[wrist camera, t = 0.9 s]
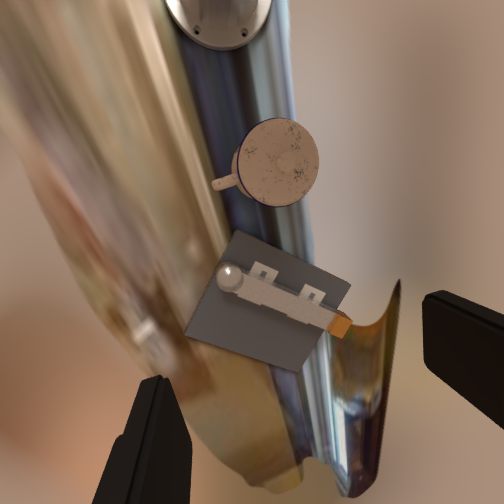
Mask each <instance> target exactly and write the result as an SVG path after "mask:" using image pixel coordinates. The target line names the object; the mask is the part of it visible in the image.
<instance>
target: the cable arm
mask: <svg viewBox="0 0 504 504" xmlns="http://www.w3.org/2000/svg"><path fill="white" fill-rule="evenodd" d="M216 279H217V284H218V286H219V288H220V289H221V290H223V291H225V292H234V293H236V294H239V295H241V296H243V297H246V298H248V299H251V300H253V301H256V302H258V303H261V304H263V305H266V306H268V307H271V308H273V309H276V310H278V311H280V312H283V313H285V314H288V315H290V316H293V317H295V318H298V319H300V320H303V321H305V322H308V323H310V324H313V325H315V326H317V327H320V328H322V329H325V330H327V331H328V332H329V333H330V334H332V335H334V336H337V337H339V338H343V336H344V335H345V333H346V331H347V330H348V328H349V327H350V325H351V323H352V322H353V321H352V320H351V319H350V318H349V317H348V316H347V315H346V314H345V313H344V312H341V311H339V310H337V309H335V308H332V307H330V306H328V305H326V304H323V303H321V302H319V301H317V300H314V299H312V298H310V297H307V296H305V295H303V294H301V293H298V292H296V291H294V290H292V289H289V288H287V287H285V286H282V285H280V284H278V283H276V282H273V281H271V280H269V279H267V278H264V277H262V276H260V275H257V274H255V273H253V272H251V271H248V270H246V269H244V268H242V267H240V266H239V265H238V264H237V263H235V262H233V261H225V262H223V263H221V264H220V265H219V266H218V267H217V270H216Z"/></svg>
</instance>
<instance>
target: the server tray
mask: <svg viewBox="0 0 504 504" xmlns="http://www.w3.org/2000/svg"><path fill="white" fill-rule="evenodd" d="M225 261H233V262H235V263H237V264H238V265H239V266H240V267H242V268H244V269H246V270H248V271H251V272H253V273H255V274H257V275H260V276H262V277H264V278H267V279H269V280H271V281H273V282H276V283H278V284H280V285H282V286H285V287H287V288H289V289H292V290H294V291H296V292H298V293H301V294H303V295H305V296H307V297H310V298H312V299H314V300H317V301H319V302H321V303H323V304H326V305H328V306H330V307H332V308H335V309H337V308H338V306H339V304H340V303H341V301H342V300H343V298H344V296H345V295H346V293H347V292H348V290H349V288H350V287H351V284H349V283H348V282H346V281H344V280H342V279H340V278H338V277H336V276H334V275H332V274H330V273H328V272H326V271H324V270H322V269H320V268H318V267H316V266H314V265H311V264H309V263H307V262H305V261H303V260H301V259H299V258H297V257H295V256H293V255H291V254H289V253H287V252H285V251H283V250H281V249H279V248H277V247H274V246H272V245H270V244H268V243H266V242H264V241H262V240H260V239H258V238H256V237H254V236H252V235H250V234H248V233H246V232H244V231H242V230H240V229H237V228H236V229H235V231H234V233H233V235H232V237H231V239H230V241H229V243H228V245H227V247H226V249H225V251H224V253H223V255H222V257H221V259H220V261H219V263H218V265H217V267H218V266H219V265H220V264H221V263H223V262H225ZM217 267H216V269H215V271H214V273H213V275H212V277H211V279H210V281H209V283H208V285H207V287H206V289H205V291H204V293H203V295H202V297H201V299H200V301H199V303H198V305H197V307H196V309H195V311H194V313H193V315H192V317H191V319H190V321H189V323H188V325H187V327H186V329H185V334H184V335H185V336H188V337H191V338H194V339H197V340H200V341H203V342H206V343H209V344H212V345H215V346H218V347H221V348H224V349H227V350H230V351H233V352H236V353H239V354H242V355H245V356H248V357H251V358H254V359H257V360H260V361H263V362H266V363H269V364H272V365H275V366H278V367H281V368H284V369H288V370H291V371H294V372H297V373H298V372H299V370H300V369H301V367H302V365H303V364H304V362H305V361H306V359H307V357H308V356H309V354H310V352H311V351H312V349H313V347H314V346H315V344H316V342H317V341H318V339H319V338H320V336H321V334H322V333H323V331H324V329H322V328H320V327H317V326H315V325H313V324H310V323H308V322H305V321H303V320H300V319H298V318H295V317H293V316H290V315H288V314H285V313H283V312H280V311H278V310H276V309H273V308H271V307H268V306H266V305H263V304H261V303H258V302H256V301H253V300H251V299H248V298H246V297H243V296H241V295H239V294H236V293H234V292H225V291H223V290H221V289H220V288H219V286H218V284H217V279H216V270H217Z"/></svg>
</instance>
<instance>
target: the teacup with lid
mask: <svg viewBox="0 0 504 504" xmlns="http://www.w3.org/2000/svg"><path fill="white" fill-rule="evenodd" d="M318 167H319V156H318V150H317V147H316V144H315V142H314V140H313V138H312V136H311V135H310V134H309V132H308V131H307V130H306V129H305V128H304V127H302V126H301V125H300V124H298V123H296V122H294V121H292V120H289V119H285V118H272V119H268V120H265V121H262V122H260V123H258V124H257V125H255V126H254V127H253V128H252V129H251V130H250V131H249V132H248V133H247V134H246V135H245V137H244V139H243V140H242V142H241V144H240V145H239V147H238V148H237V150H236V151H235V154H234V156H233V160H232V174H231V175H228V176H225V177H222V178H219V179H216V180H213V181H212V187H213V189H214V190H215V191H219V190H222V189H226V188H229V187H232V186H234V185H237V187H238V188H239V190H240V191H241V192H242V193H243V194H245V195H246V196H248V197H250V198H252V199H254V200H255V201H257V202H259V203H261V204H263V205H266V206H269V207H284V206H288V205H291V204H293V203H295V202H297V201H299V200H300V199H301V198H303V197H304V196H305V195H306V194H307V192H308V191H309V190H310V189H311V187H312V185H313V184H314V181H315V179H316V176H317V173H318Z"/></svg>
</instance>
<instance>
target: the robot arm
mask: <svg viewBox="0 0 504 504" xmlns="http://www.w3.org/2000/svg"><path fill="white" fill-rule="evenodd" d="M271 2H272V0H165V4H166V6H167V8H168V10H169V12H170V14H171V16H172V18H173V19H174V21H175V22H176V24H177V25H178V26H179V28H180V29H181V30H182V31H183V32H184V33H185V34H186V35H187V36H188V37H189V38H191V39H192V40H193V41H195V42H196V43H198V44H200V45H202V46H204V47H206V48H209V49H213V50H219V51H228V50H234V49H237V48H239V47H242V46H244V45H246V44H247V43H248V42H250V41H251V40H252V39H253V38H254V37H255V36H256V35H257V34H258V33H259V31H260V30H261V28H262V26H263V25H264V23H265V21H266V18H267V15H268V13H269V9H270V5H271ZM196 32H198V33H199V34H198V35H197V34H195V33H196ZM242 35H245V37H243V36H242ZM422 320H423V353H424V354H423V355H424V363H425V365H426V366H427V368H428V369H429V370H430V371H431V372H432V373H434V374H435V375H436V376H437V377H439V378H440V379H441V380H443V381H444V382H445V383H447V384H448V385H449V386H450V387H451V388H452V389H454V390H455V391H456V392H458V393H459V394H460V395H461V396H463V397H464V398H465V399H466V400H468V401H469V402H470V403H471V404H472V405H474V406H475V407H476V408H477V409H479V410H480V411H481V412H482V413H484V414H485V415H486V416H487V417H489V418H490V419H491V420H492V421H494V422H495V423H496V424H497V425H499V426H500V427H501V428H502V429H504V315H503V314H501V313H498V312H496V311H494V310H491V309H489V308H486V307H484V306H482V305H479V304H477V303H474V302H472V301H469V300H467V299H465V298H462V297H460V296H457V295H455V294H453V293H450V292H448V291H445V290H440V291H436V292H433V293H430V294H427V295H426V296H425V298H424V300H423V302H422ZM191 469H192V441H191V437H190V435H189V432H188V429H187V427H186V424H185V421H184V418H183V416H182V413H181V410H180V407H179V405H178V402H177V399H176V397H175V394H174V391H173V388H172V386H171V383H170V380H169V379H168V378H164V379H163V377H162V376H161V375H157V376H154V377H151V378H147V379H145V380H142V382H141V383H140V386H139V389H138V392H137V395H136V397H135V400H134V403H133V406H132V409H131V412H130V415H129V418H128V421H127V424H126V427H125V429H124V433H123V434H122V435H119V437H117V438H116V440H115V442H114V444H113V447H112V450H111V453H110V455H109V458H108V461H107V463H106V466H105V469H104V471H103V474H102V477H101V480H100V482H99V485H98V488H97V491H96V493H95V496H94V499H93V502H92V504H190V488H191Z"/></svg>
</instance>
